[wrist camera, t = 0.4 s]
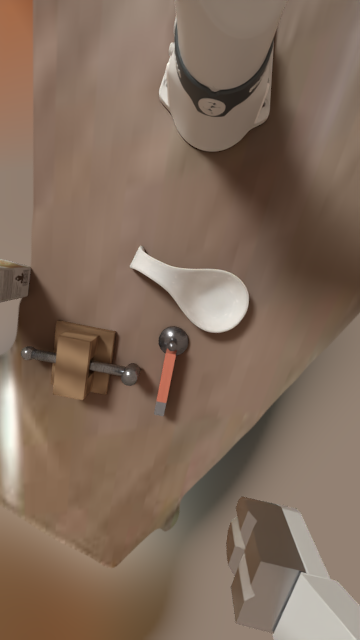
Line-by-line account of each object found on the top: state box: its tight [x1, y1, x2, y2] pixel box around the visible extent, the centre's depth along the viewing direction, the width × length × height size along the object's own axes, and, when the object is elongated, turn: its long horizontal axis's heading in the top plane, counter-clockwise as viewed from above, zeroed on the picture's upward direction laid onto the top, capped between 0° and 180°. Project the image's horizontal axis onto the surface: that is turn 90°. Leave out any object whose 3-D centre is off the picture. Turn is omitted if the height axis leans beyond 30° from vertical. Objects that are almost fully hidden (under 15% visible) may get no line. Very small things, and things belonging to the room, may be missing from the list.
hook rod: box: [21, 346, 141, 386], centre depth 52 cm, size 3×24×4 cm, turn 79°
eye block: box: [51, 320, 116, 400], centre depth 53 cm, size 14×12×6 cm
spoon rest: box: [130, 246, 249, 333], centre depth 48 cm, size 24×12×7 cm, turn 63°
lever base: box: [159, 326, 188, 355], centre depth 52 cm, size 6×6×4 cm
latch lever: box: [154, 348, 177, 416], centre depth 53 cm, size 14×2×3 cm, turn 169°
